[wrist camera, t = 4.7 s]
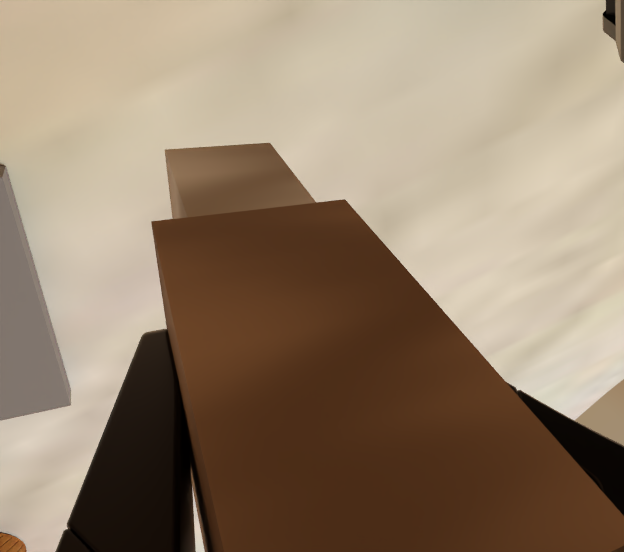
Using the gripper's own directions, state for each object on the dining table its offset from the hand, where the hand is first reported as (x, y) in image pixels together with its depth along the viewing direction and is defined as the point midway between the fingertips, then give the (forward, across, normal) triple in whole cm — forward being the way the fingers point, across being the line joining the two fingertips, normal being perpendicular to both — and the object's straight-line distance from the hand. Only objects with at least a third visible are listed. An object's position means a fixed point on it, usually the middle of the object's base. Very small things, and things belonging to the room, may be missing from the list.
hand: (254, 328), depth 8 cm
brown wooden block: (+2, 0, 0) cm, 3 cm away
